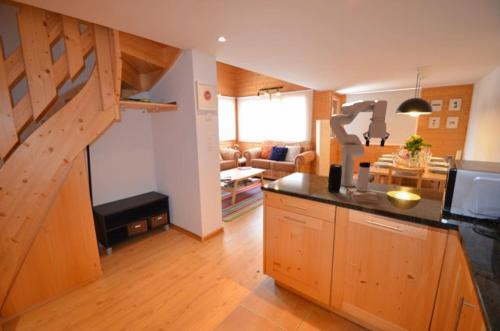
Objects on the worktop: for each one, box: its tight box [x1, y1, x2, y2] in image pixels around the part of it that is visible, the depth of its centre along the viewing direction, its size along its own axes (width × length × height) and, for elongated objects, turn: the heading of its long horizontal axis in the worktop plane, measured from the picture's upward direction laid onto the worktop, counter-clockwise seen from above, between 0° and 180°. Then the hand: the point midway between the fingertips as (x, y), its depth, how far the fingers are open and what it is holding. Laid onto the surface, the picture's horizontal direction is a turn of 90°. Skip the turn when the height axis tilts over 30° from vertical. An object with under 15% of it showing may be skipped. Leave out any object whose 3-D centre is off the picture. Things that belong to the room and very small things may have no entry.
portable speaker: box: [327, 163, 342, 194], centre depth 162 cm, size 9×9×20 cm
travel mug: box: [356, 161, 371, 193], centre depth 147 cm, size 6×7×20 cm
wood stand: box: [345, 187, 379, 203], centre depth 150 cm, size 14×14×5 cm
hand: (374, 146), depth 150 cm, fingers open, 9 cm apart
